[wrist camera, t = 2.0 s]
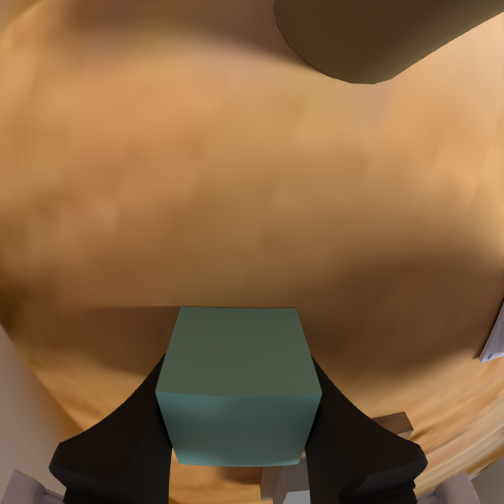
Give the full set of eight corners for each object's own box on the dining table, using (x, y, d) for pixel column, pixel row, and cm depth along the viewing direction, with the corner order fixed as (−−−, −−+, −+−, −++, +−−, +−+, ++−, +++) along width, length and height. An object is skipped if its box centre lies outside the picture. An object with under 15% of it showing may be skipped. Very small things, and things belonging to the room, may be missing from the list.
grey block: (396, 441, 15) (407, 468, 13) (361, 484, 18) (367, 505, 16) (283, 459, 15) (287, 492, 12) (272, 497, 17) (274, 520, 15)
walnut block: (401, 405, 17) (413, 429, 15) (362, 465, 21) (368, 485, 18) (267, 423, 17) (270, 454, 14) (259, 479, 20) (261, 501, 18)
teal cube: (296, 307, 13) (322, 393, 8) (284, 385, 14) (298, 464, 10) (180, 306, 12) (155, 391, 8) (190, 384, 14) (178, 463, 9)
